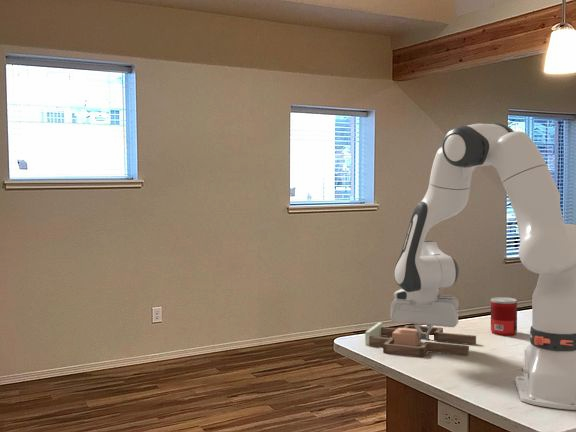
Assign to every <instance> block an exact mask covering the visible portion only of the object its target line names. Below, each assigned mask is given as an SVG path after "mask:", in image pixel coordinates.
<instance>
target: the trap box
mask: <svg viewBox="0 0 576 432" xmlns="http://www.w3.org/2000/svg"><path fill="white" fill-rule="evenodd" d="M402 328H409V329H416V328H415V324H413V325H412V324H405V325H404V326H403V327H402ZM396 329H398V328H397V327H396V328H395V327H383V322H381V321H380V322H379V321H378V322H377V323H375V324H374V325H373V326H372V327H370V328H369V329H367V330H366V331H365V332H364V333H365V336H364V337H365V339H364V340H365V341H364V342H365V343H364V344H365V346H373V347H382V352H383V354H393V355H402V356H411V357H418V356H421V357H420V358H424V357H425V356H426V355H427V354H428V353H429V352H428V351H432V352H431V353H438V352H441V353H440V354H448V353H449V355H457V354H458V356H469V355H470V346H469V345H472V344H475V345H477V335H473V334H472V335H471V334H462V333H461V334H460V333H449V332H444V328H443V327H439V326H433V328H432V330H431V331H430V333H429V335H434V340H437V341H436V342H435V341H432V342H431V341H425V342H424V343H423V344H422V345H421V346H418V345H417V346H407V345H397V344H394V339H393V338H392V333H393V332H394V331H395V330H396ZM420 329H421V330H422V332H427V331H428V329H429V328H427V325H421V326H420ZM441 341H448V342H447V343H445V342H444V343H442V342H441ZM452 342H457V343H456V344H454V343H452ZM462 343H467V344H465V345H464V344H463V345H462ZM475 345H474V346H475ZM427 352H428V353H427ZM426 353H427V354H426Z"/></svg>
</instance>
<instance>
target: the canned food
mask: <svg viewBox="0 0 576 432" xmlns="http://www.w3.org/2000/svg"><path fill="white" fill-rule="evenodd" d="M490 331H491V333H492V334H493V335H496V336H501V335H503V336H506V337H509V336H511V337H512V336H514V335H515V336H516V334H517V331H518V300H517V299H516V298H514V297H513V298H512V297H502V296H498V297H497V296H496V297H492V298H490ZM503 336H502V337H503Z"/></svg>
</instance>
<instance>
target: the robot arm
mask: <svg viewBox="0 0 576 432" xmlns="http://www.w3.org/2000/svg"><path fill="white" fill-rule="evenodd" d="M441 144H442V145H441V147H439V148H438V150H436V154H435V155H434V156H435V157H434V158H433V163H432V165H431V166H432V167H431V170H430V176H429V182H428V186H427V187H428V188H427V190H426V193H425V194H424V196H423V198H422V199H421V201H420V202H419V203H416V204H415V207H414V208H413V211H412V213H411V217H410V219H409V224H408V228H407V230H406V235H405V237H404V241H403V244H402V248H401V251H400V255H399V257H398V259H397V262H396V263H395V266H394V272H393V275H394V280H395V283H396V285H397V286H399V287H400V289H398V290H396V291H395V292H394V293H393V299H394V300H392V302H391V304H390V312H389V313H390V314H389V315H390V320H391V322H393V323H402V324H410V325H412V324H413V325H415V328H416V330H417V332H418V333H419V339H421V340H422V339H429V333H430V331H431V330H432V328H433V327H442V328H443V327H444V328H445V327H446V328H455V327H456V326H458V324H459V314H458V313H459V312H458V310H459V306H460V305H459V303H460V302H459V300H458V298H457V297H455V296H454V295H445V294H439V292H440V291H439V290H440V289H445V288H450V287H453V286H454V285H455V284H456V282H457V280H458V278H459V275H460V274H459V273H460V269H459V265H458V262H457V261H456V259H455V258H453V257H452V256H451V255H449V254H446V253H444V252H443V251H442V250H441V249H440V248H439V246H438V244H437V242H436V241H434V240H425V239H426V236H427V233H428V232H429V231H430V229H431V228H433V227H434V226H435V225H437V224H439V223H441V222H442V221H444V220H445V221H446V220H448V219H451V218H452V217H455V216H456V215H458V214H459V213H461V212H462V211H463V209H465V207H466V206H467V203H468V201H469V198H470V197H469V196H470V192H471V186H472V185H471V183H472V177H473V176H472V175H473V172H474V171H475V169H476V168H477V167H488V166H492V167H493V168H494V169H495V170H496V171H497V173H498V176H499V178H500V181H501V183H502V186H503V188H504V190H505V193H506V195H507V197H508V200H509V203H510V205H511V206H512V209H513V212H514V216H515V219H516V224H517V230H518V235H519V247H518V256H519V261H520V262H521V264H522V265H523V266H524V267H525V268H526V269H527V270H528V271H530V272H532V273H534V274H535V273H536V274H538V279H537V283H536V286H535V289H534V290H533V293H532V297H531V298H532V299H531V300H532V301H531V302H532V305H531V306H532V307H531V308H532V310H531V311H532V312H531V314H532V316H531V317H532V319H531V320H532V321H531V326H530V329H529V330H530V331H529V345H527V346H526V347H525V348H524V351H523V352H524V353H523V355H524V357H523V358H524V359H523V362H524V363H523V367H522V368H521V372H522V374H523V375H518V376H515V379H514V382H515V386H516V388H517V392H518V397H519V400H520V401H521V402H523V403H526V404H528V405H529V404H530V405H534V406H538V407H544V408H550V409H559V410H560V409H561V410H570V411H571V410H573V411H576V225H575V224H573V223H572V224H571V223H565V221H564V218H563V214H562V213H563V212H562V208H561V192H560V191H559V189H558V187H557V185H556V182H555V179H554V177H553V175H552V174H551V172H550V170H549V167H548V165H547V163H546V161H545V158H544V157H543V155H542V153H541V151H540V150H539V148H538V146H537V145H536V144H535V142H534V141H533V139H532V138H531V137H530V136H529V135H528V134H527V133H526V132H523V131H518V130H517V131H515V130H513V128H511V127H510V126H508V125H506V124H501V123H481V122H480V123H472V124H469V125H468V124H467V125H459V126H457V127H455V128H452V129H451V130H449V131H448V132H447V133H446V134H445V136H444V138H443V140H442V143H441ZM420 326H427V328H429V329H428V331H427V332H422V330H421V329H420Z"/></svg>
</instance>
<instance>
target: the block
mask: <svg viewBox="0 0 576 432" xmlns="http://www.w3.org/2000/svg"><path fill="white" fill-rule="evenodd" d="M391 338H393V339H394V344H397V345H407V346H417V347H418V345H420V343H421V342H422V339H419V333H418V332H417V330H416V329H409V328H403V327H398V328H397V329H396V330H395V331H394V332H393V333H392V337H391Z"/></svg>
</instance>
